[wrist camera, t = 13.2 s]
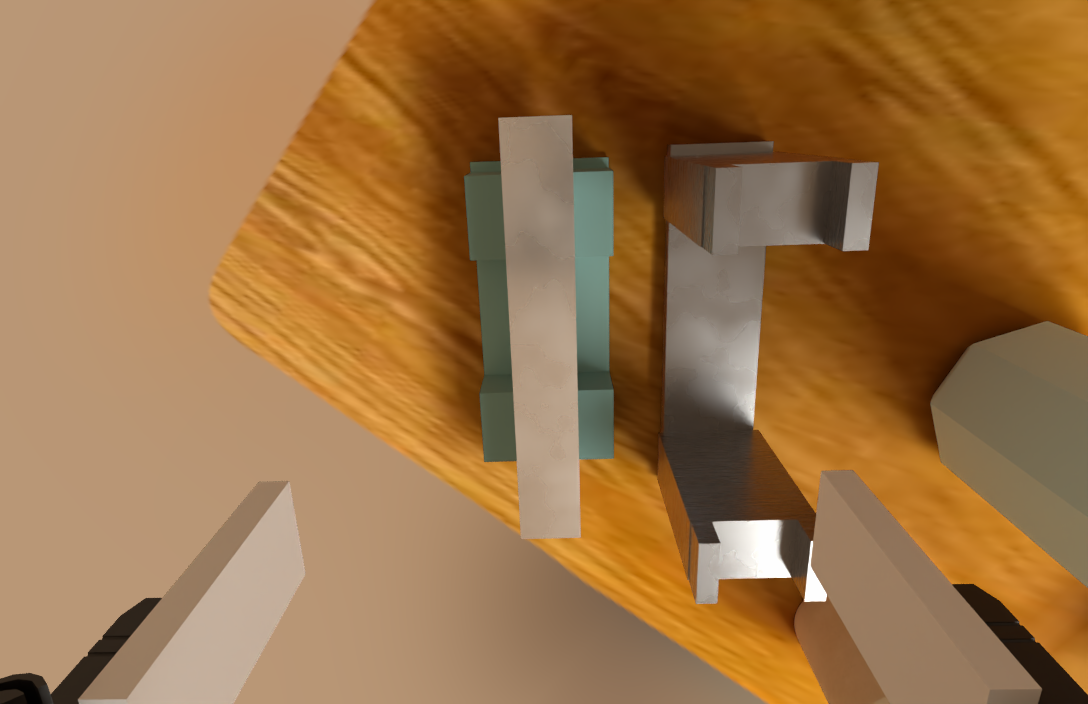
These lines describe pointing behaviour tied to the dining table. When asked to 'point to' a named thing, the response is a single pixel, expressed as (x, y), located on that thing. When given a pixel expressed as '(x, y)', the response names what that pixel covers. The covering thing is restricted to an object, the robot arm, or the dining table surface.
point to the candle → (835, 656)
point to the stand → (738, 349)
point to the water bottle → (1024, 434)
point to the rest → (590, 306)
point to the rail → (542, 319)
